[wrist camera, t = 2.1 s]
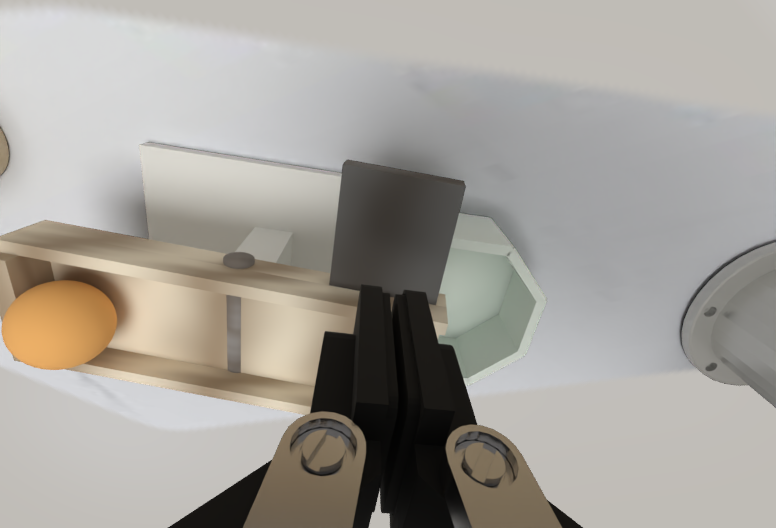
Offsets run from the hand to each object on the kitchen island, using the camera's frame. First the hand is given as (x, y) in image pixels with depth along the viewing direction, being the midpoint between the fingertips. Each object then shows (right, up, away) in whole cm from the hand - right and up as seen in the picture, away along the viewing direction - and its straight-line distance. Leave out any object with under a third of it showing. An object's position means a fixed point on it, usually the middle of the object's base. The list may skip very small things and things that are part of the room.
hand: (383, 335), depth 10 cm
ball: (-15, -1, +7) cm, 16 cm away
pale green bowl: (+4, +1, +18) cm, 19 cm away
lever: (-7, +2, +9) cm, 12 cm away
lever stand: (-8, +2, +17) cm, 19 cm away
